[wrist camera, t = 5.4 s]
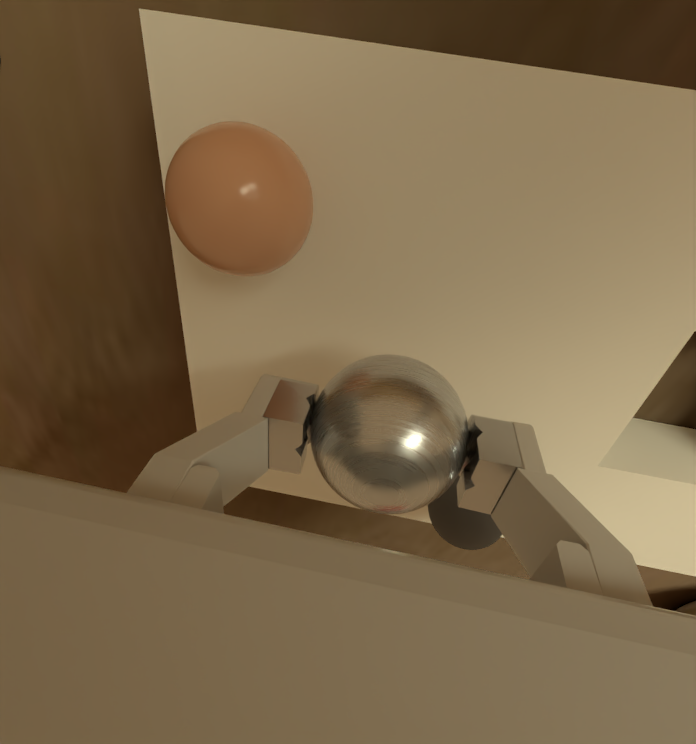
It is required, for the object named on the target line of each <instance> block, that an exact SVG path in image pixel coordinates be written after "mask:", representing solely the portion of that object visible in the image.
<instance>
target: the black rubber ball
mask: <svg viewBox="0 0 696 744" xmlns="http://www.w3.org/2000/svg"><path fill="white" fill-rule="evenodd" d="M459 479H460V476H459V475H458V476H457V478H456V479H455V481H454V482H453V484H452V485H451V486H450V487H449V488H448V489H447V490H446V491H445V492H444V493H443V494H442V495H441V496H440V497H439V498H437V499H436V500H435V501H433V502H431V503H430V504H428V512H429V517H430V520H431V522H432V525H433V526H434V528H435V530H436V531H437V532H438V533H439V535H440V536H441V537H442V538H443V539H445V540H446V541H447V542H448V543H450V544H452V545H454V546H456V547H459V548H462V549H468V550H476V549H482V548H485V547H488V546H490V545H491V544H493V543H494V542H496V541H497V540H498V539H499V538H500V537H501V536H502V533H501V531H500V530H499V528H498V527H497V525H496V523H495V522H494V520H493V519H492V517H491V515H490V514H486V513H482V512H477V511H473V510H469V509H464V508H460V507H458V499H457V483H458V481H459Z"/></svg>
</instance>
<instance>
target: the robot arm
mask: <svg viewBox="0 0 696 744" xmlns="http://www.w3.org/2000/svg"><path fill="white" fill-rule="evenodd" d="M318 397H319V385H317V384H312V383H307V382H303V381H298V380H294V379H289V378H284V377H283V378H282V377H278V376H274V375H269V374H264V375H262V376H261V377H260V379H259V381H258V383H257V385H256V386H255V388H254V390H253V392H252V394H251V395H250V397H249V399H248V401H247V403H246V404H245V406H244V408H243V410H242V412H241V413H240V412H234V413H232V414H230V415H228V416H226V417H224V418H222V419H220V420H219V421H217V422H215V423H213V424H211V425H209V426H207V427H205V428H203V429H201V430H199V431H197V432H195V433H193V434H192V435H190V436H188V437H186V438H184V439H182V440H180V441H178V442H176V443H174V444H172V445H170V446H168V447H166V448H165V449H163V450H161V451H159V452H157V453H155V454H154V455H153V457H152V458H151V459H150V461H149V462H148V463H147V465H146V466H145V468H144V469H143V470H142V472H141V473H140V475H139V476H138V477H137V479H136V480H135V481H134V483H133V484H132V486H131V487H130V488H129V490H128V491H127V493H124V492H120V491H115V490H110V489H106V488H101V487H97V486H92V485H87V484H83V483H78V482H73V481H69V480H64V479H59V478H55V477H50V476H45V475H41V474H36V473H31V472H27V471H22V470H18V469H13V468H8V467H4V466H0V744H696V616H695V615H690V614H685V613H681V612H676V611H671V610H667V609H662V608H658V607H653V605H652V602H651V600H650V598H649V595H648V593H647V590H646V588H645V585H644V583H643V580H642V578H641V575H640V573H639V570H638V568H637V565H636V563H635V560H634V558H633V555H632V553H631V552H630V551H629V550H628V549H627V548H626V547H625V546H624V545H623V544H622V543H620V542H619V541H618V540H617V539H616V538H615V537H614V536H613V535H612V534H611V533H610V532H609V531H608V530H607V529H606V528H605V527H604V526H603V525H602V524H601V523H600V522H599V521H598V520H597V519H596V518H595V517H594V516H593V515H592V514H591V513H590V512H589V511H588V510H587V509H586V508H585V507H584V506H583V505H582V504H581V503H580V502H579V501H578V500H577V499H576V498H575V497H574V496H573V495H572V494H571V493H570V492H569V491H568V490H567V489H566V488H565V487H564V486H563V485H562V484H561V483H560V482H559V481H558V480H557V479H556V478H555V477H554V476H553V475H551V474H547V473H546V470H545V466H544V463H543V459H542V456H541V452H540V449H539V445H538V442H537V439H536V435H535V432H534V428H533V427H532V426H531V425H530V424H524V423H518V422H512V421H511V422H509V421H504V420H499V419H493V418H488V417H483V416H477V415H471V416H470V418H469V419H468V430H469V442H468V449H467V455H466V458H465V461H464V464H463V466H462V469H461V471H460V473H459V476H460V479H459V481H458V483H457V499H458V507H460V508H464V509H469V510H473V511H477V512H482V513H486V514H490V515H491V517H492V519H493V520H494V522H495V523H496V525H497V527H498V528H499V530H500V531H501V533H502V534H503V536H504V537H505V539H506V541H507V542H508V544H509V545H510V547H511V548H512V550H513V551H514V553H515V555H516V556H517V558H518V559H519V561H520V562H521V564H522V565H523V567H524V569H525V570H526V572H527V573H528V575H529V576H530V579H529V580H528V579H523V578H519V577H514V576H509V575H505V574H500V573H495V572H491V571H486V570H482V569H477V568H472V567H468V566H463V565H458V564H454V563H449V562H444V561H440V560H435V559H430V558H426V557H421V556H417V555H412V554H407V553H403V552H398V551H393V550H389V549H384V548H379V547H375V546H370V545H366V544H361V543H356V542H352V541H347V540H342V539H338V538H333V537H329V536H324V535H319V534H315V533H310V532H305V531H301V530H296V529H291V528H287V527H282V526H278V525H273V524H268V523H264V522H259V521H254V520H250V519H245V518H240V517H236V516H231V515H226V514H224V508H223V507H224V506H225V505H226V504H228V503H229V502H230V501H231V500H232V499H234V498H235V497H236V496H237V495H239V494H240V493H241V492H242V491H243V490H245V489H246V488H247V487H248V486H250V485H251V484H252V483H253V482H255V481H256V480H257V479H258V478H259V477H261V476H262V475H263V474H264V473H266V472H267V471H268V469H273V470H279V471H284V472H290V473H296V474H300V473H301V470H302V467H303V464H304V461H305V458H306V454H307V444H309V443H311V442H310V423H311V417H312V413H313V410H314V407H315V404H316V401H317V399H318Z"/></svg>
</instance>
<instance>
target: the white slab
mask: <svg viewBox="0 0 696 744" xmlns="http://www.w3.org/2000/svg"><path fill="white" fill-rule="evenodd" d="M139 14H140V21H141V28H142V36H143V43H144V50H145V57H146V65H147V72H148V79H149V86H150V94H151V101H152V108H153V116H154V123H155V130H156V137H157V145H158V152H159V159H160V167H161V174H162V181H163V188H164V196H165V180H166V175H167V171H168V168H169V165H170V162H171V160H172V158H173V156H174V154H175V152H176V151H177V149H178V148H179V147H180V145H181V144H182V143H183V142H184V141H185V140H186V139H187V138H188V137H189V136H190V135H192V134H193V133H195V132H196V131H198V130H199V129H201V128H204V127H206V126H208V125H210V124H214V123H218V122H226V121H240V122H246V123H251V124H254V125H257V126H259V127H262V128H264V129H266V130H268V131H270V132H272V133H274V134H275V135H276V136H278V137H279V138H280V139H282V140H283V141H284V142H285V143H286V144H287V145H288V146H289V147H290V148H291V149H292V150H293V151H294V153H295V154H296V155H297V157H298V158H299V160H300V161H301V163H302V165H303V167H304V169H305V171H306V173H307V175H308V178H309V181H310V184H311V188H312V194H313V218H312V224H311V227H310V231H309V233H308V236H307V238H306V240H305V242H304V244H303V246H302V247H301V249H300V250H299V251H298V252H297V254H296V255H295V256H294V257H293V258H292V259H291V260H290V261H289V262H288V263H286V264H285V265H283V266H282V267H280V268H278V269H276V270H274V271H272V272H270V273H267V274H263V275H258V276H252V277H241V276H233V275H229V274H225V273H222V272H219V271H216V270H214V269H212V268H210V267H209V266H207V265H205V264H204V263H202V262H201V261H200V260H198V259H197V258H196V257H195V256H194V255H193V254H191V253H190V252H189V251H188V249H187V248H186V247H185V246H184V245H183V243H182V242H181V241H180V239H179V238H178V236H177V234H176V232H175V231H174V229H173V226H172V224H171V222H170V219H169V216H168V213H167V217H168V225H169V232H170V239H171V247H172V254H173V261H174V268H175V276H176V283H177V290H178V297H179V305H180V312H181V319H182V327H183V334H184V341H185V348H186V356H187V363H188V370H189V377H190V385H191V392H192V399H193V407H194V414H195V421H196V428H197V431H199V430H201V429H203V428H205V427H207V426H209V425H211V424H213V423H215V422H217V421H219V420H220V419H222V418H224V417H226V416H228V415H230V414H232V413H234V412H240V413H241V412H242V410H243V408H244V406H245V404H246V403H247V401H248V399H249V397H250V395H251V394H252V392H253V390H254V388H255V386H256V385H257V383H258V381H259V379H260V377H261V376H262V375H264V374H269V375H274V376H278V377H282V378H283V377H284V378H289V379H294V380H298V381H303V382H307V383H312V384H317V385H319V395H320V393H321V392H322V390H323V389H324V387H325V386H326V385H327V383H328V382H329V381H330V380H331V379H332V378H333V377H334V376H335V375H336V374H337V373H338V372H339V371H341V370H342V369H343V368H345V367H346V366H348V365H350V364H352V363H354V362H356V361H358V360H360V359H363V358H366V357H370V356H375V355H384V354H390V355H401V356H406V357H410V358H413V359H416V360H419V361H421V362H423V363H425V364H427V365H429V366H431V367H432V368H434V369H435V370H436V371H438V372H439V373H440V374H441V375H442V376H443V377H445V378H446V380H447V381H448V382H449V383H450V384H451V385H452V387H453V388H454V390H455V391H456V393H457V394H458V396H459V398H460V400H461V402H462V405H463V407H464V409H465V413H466V417H467V421H468V419H469V418H470V416H471V415H477V416H483V417H488V418H493V419H499V420H504V421H509V422H511V421H512V422H518V423H524V424H530V425H531V426H532V427H533V428H534V432H535V435H536V439H537V442H538V445H539V449H540V452H541V456H542V459H543V463H544V466H545V470H546V473H547V474H551V475H553V476H554V477H555V478H556V479H557V480H558V481H559V482H560V483H561V484H562V485H563V486H564V487H565V488H566V489H567V490H568V491H569V492H570V493H571V494H572V495H573V496H574V497H575V498H576V499H577V500H578V501H579V502H580V503H581V504H582V505H583V506H584V507H585V508H586V509H587V510H588V511H589V512H590V513H591V514H592V515H593V516H594V517H595V518H596V519H597V520H598V521H599V522H600V523H601V524H602V525H603V526H604V527H605V528H606V529H607V530H608V531H609V532H610V533H611V534H612V535H613V536H614V537H615V538H616V539H617V540H618V541H619V542H620V543H622V544H623V545H624V546H625V547H626V548H627V549H628V550H629V551H630V552H631V553H632V555H633V558H634V560H635V563H636V564H637V565H642V566H647V567H652V568H657V569H662V570H667V571H672V572H677V573H682V574H686V575H691V576H696V429H691V428H686V427H680V426H675V425H670V424H664V423H659V422H653V421H648V420H643V419H637V418H633V416H634V415H635V413H636V412H637V411H638V409H639V408H640V406H641V405H642V404H643V402H644V401H645V400H646V398H647V397H648V395H649V394H650V393H651V391H652V390H653V388H654V387H655V386H656V384H657V383H658V381H659V380H660V379H661V377H662V376H663V375H664V373H665V372H666V370H667V369H668V368H669V366H670V365H671V363H672V362H673V361H674V359H675V358H676V357H677V355H678V354H679V352H680V351H681V350H682V348H683V347H684V345H685V344H686V343H687V341H688V340H689V338H690V337H691V336H692V334H693V333H694V332H695V331H696V90H690V89H684V88H677V87H670V86H663V85H656V84H650V83H643V82H636V81H629V80H622V79H616V78H609V77H602V76H595V75H588V74H582V73H575V72H568V71H561V70H554V69H548V68H541V67H534V66H527V65H521V64H514V63H507V62H500V61H493V60H487V59H480V58H473V57H466V56H459V55H453V54H446V53H439V52H432V51H425V50H419V49H412V48H405V47H398V46H391V45H385V44H378V43H371V42H364V41H357V40H351V39H344V38H337V37H330V36H323V35H317V34H310V33H303V32H296V31H289V30H283V29H276V28H269V27H262V26H255V25H249V24H242V23H235V22H228V21H221V20H215V19H208V18H201V17H194V16H187V15H181V14H174V13H167V12H160V11H153V10H147V9H140V8H139ZM166 210H167V208H166ZM249 487H254V488H259V489H264V490H269V491H274V492H279V493H284V494H289V495H294V496H299V497H304V498H308V499H313V500H318V501H323V502H328V503H333V504H338V505H343V506H348V507H353V508H358V509H361V508H359V507H356V506H354V505H352V504H351V503H349V502H348V501H346V500H345V499H343V498H342V497H340V496H339V495H338V494H337V493H336V492H335V491H334V490H333V489H332V488H331V487H330V486H329V485H328V484H327V482H326V481H325V480H324V478H323V476H322V475H321V473H320V471H319V469H318V467H317V465H316V462H315V460H314V457H313V454H312V449H311V443H309V444H307V454H306V458H305V461H304V464H303V467H302V470H301V473H300V474H296V473H290V472H284V471H279V470H273V469H268V471H267V472H266V473H264V474H263V475H262V476H261V477H259V478H258V479H257V480H256V481H255V482H253V483H252V484H251V485H250V486H249ZM363 510H364V509H363ZM388 515H393V516H398V517H403V518H408V519H413V520H418V521H423V522H428V523H432V522H431V520H430V517H429V512H428V505H426V506H424V507H422V508H420V509H417V510H414V511H411V512H407V513H401V514H388ZM501 537H502V538H505V537H504V536H503V534H502V536H501Z"/></svg>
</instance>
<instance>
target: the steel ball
mask: <svg viewBox="0 0 696 744" xmlns="http://www.w3.org/2000/svg"><path fill="white" fill-rule="evenodd" d="M310 442H311V449H312V454H313V457H314V460H315V462H316V465H317V467H318V469H319V471H320V473H321V475H322V476H323V478H324V480H325V481H326V482H327V484H328V485H329V486H330V487H331V488H332V489H333V490H334V491H335V492H336V493H337V494H338V495H339V496H340V497H342V498H343V499H345V500H346V501H348V502H349V503H351V504H352V505H354V506H356V507H359V508H361V509H364V510H367V511H370V512H374V513H380V514H401V513H407V512H411V511H414V510H417V509H420V508H422V507H424V506H426V505H428V504H430V503H431V502H433V501H435V500H436V499H437V498H439V497H440V496H441V495H442V494H443V493H444V492H445V491H446V490H447V489H448V488H449V487H450V486H451V485H452V484H453V482H454V481H455V479H456V478H457V476H458V475H459V473H460V471H461V469H462V466H463V464H464V461H465V458H466V455H467V449H468V442H469V430H468V421H467V417H466V413H465V409H464V407H463V405H462V402H461V400H460V398H459V396H458V394H457V393H456V391H455V390H454V388H453V387H452V385H451V384H450V383H449V382H448V381H447V380H446V378H445V377H443V376H442V375H441V374H440V373H439V372H438V371H436V370H435V369H434V368H432V367H431V366H429V365H427V364H425V363H423V362H421V361H419V360H416V359H413V358H410V357H406V356H401V355H390V354H384V355H375V356H370V357H366V358H363V359H360V360H358V361H356V362H354V363H352V364H350V365H348V366H346V367H345V368H343V369H342V370H341V371H339V372H338V373H337V374H336V375H335V376H334V377H333V378H332V379H331V380H330V381H329V382H328V383H327V385H326V386H325V387H324V389H323V390H322V392H321V393H320V395H319V397H318V399H317V401H316V404H315V407H314V410H313V413H312V417H311V423H310Z"/></svg>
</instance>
